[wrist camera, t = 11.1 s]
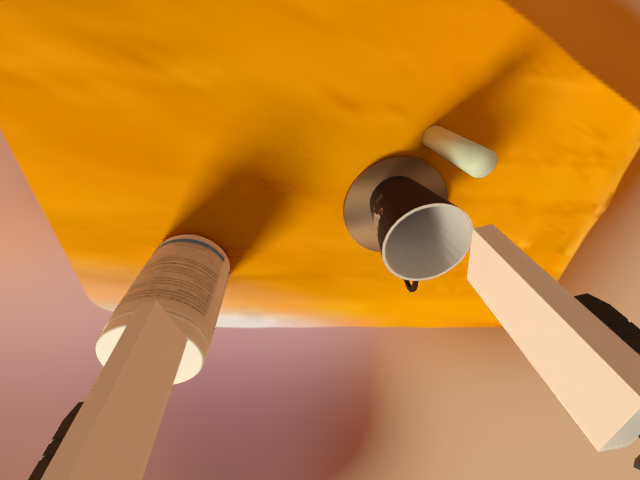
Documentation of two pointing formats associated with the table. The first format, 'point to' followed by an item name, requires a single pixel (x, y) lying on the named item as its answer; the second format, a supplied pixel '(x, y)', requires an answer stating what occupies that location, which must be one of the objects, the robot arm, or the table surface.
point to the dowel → (460, 151)
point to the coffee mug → (418, 230)
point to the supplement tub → (177, 297)
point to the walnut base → (367, 181)
